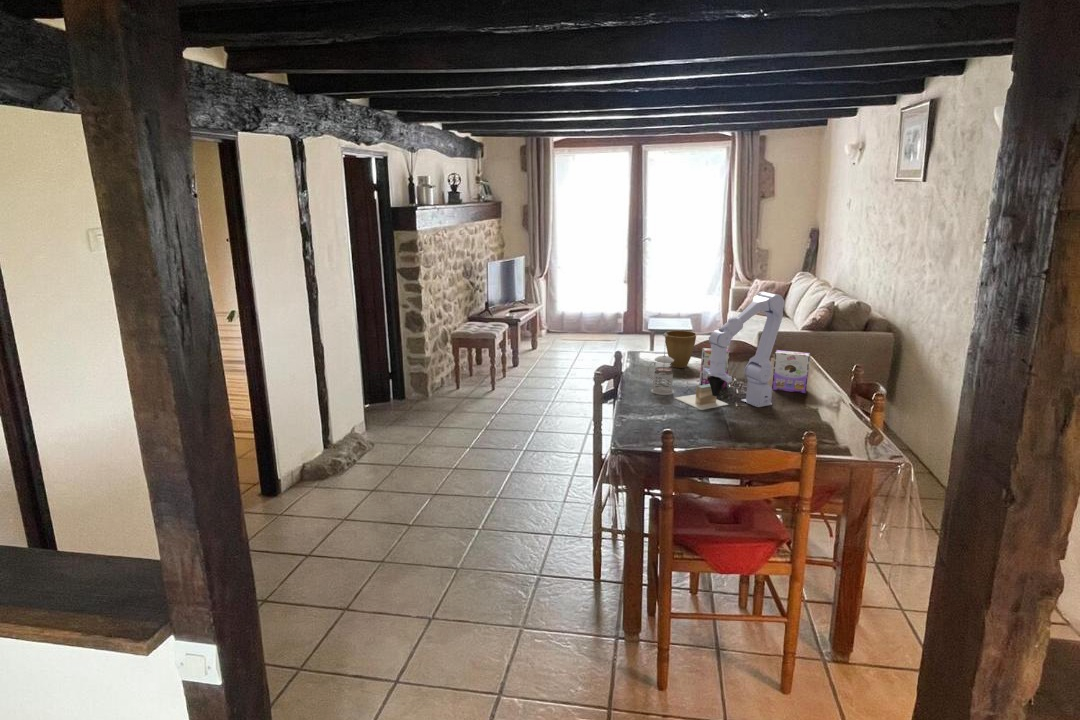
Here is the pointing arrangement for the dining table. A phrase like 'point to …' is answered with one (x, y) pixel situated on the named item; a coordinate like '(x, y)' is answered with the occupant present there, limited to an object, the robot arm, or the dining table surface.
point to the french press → (662, 375)
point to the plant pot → (680, 347)
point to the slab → (704, 395)
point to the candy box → (791, 371)
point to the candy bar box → (706, 364)
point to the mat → (691, 401)
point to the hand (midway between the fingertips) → (715, 395)
